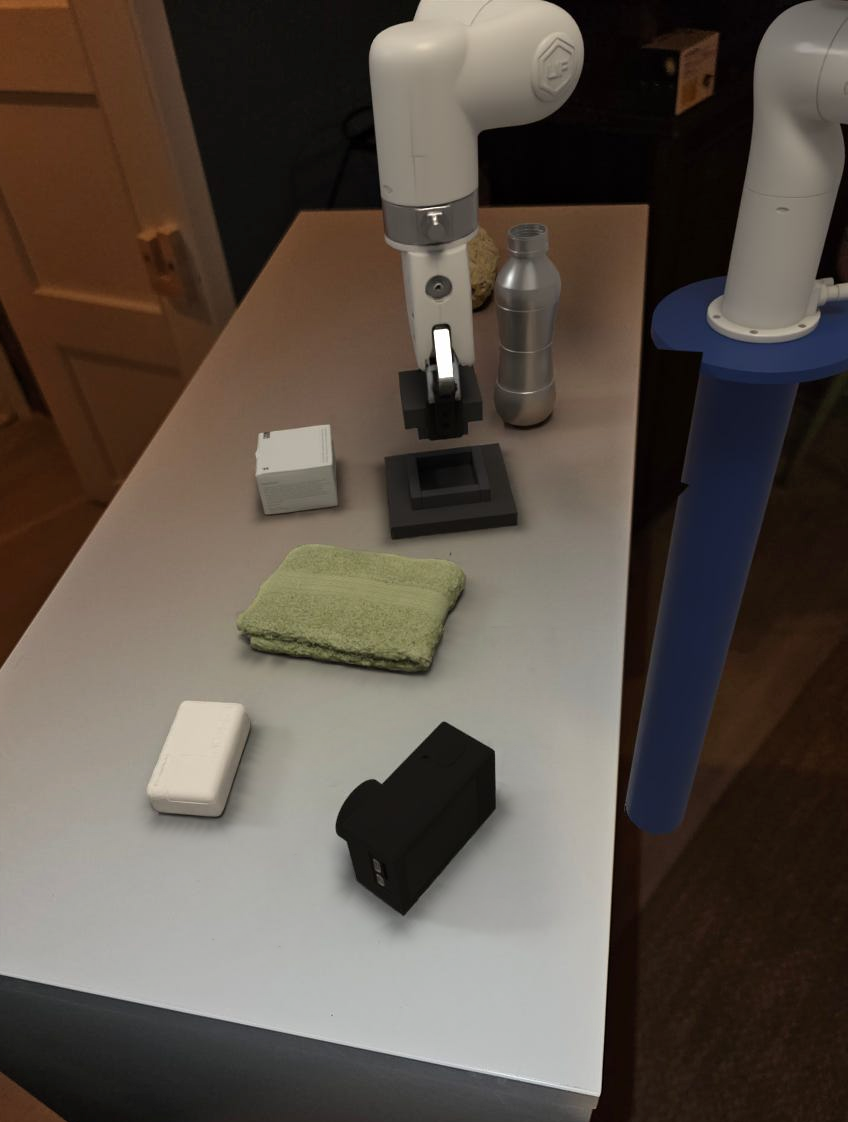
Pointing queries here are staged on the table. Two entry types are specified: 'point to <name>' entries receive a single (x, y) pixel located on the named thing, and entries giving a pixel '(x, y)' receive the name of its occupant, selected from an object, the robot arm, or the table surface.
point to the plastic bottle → (526, 327)
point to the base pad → (449, 491)
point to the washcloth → (354, 607)
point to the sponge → (482, 266)
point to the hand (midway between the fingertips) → (441, 413)
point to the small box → (296, 469)
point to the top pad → (416, 393)
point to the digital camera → (418, 815)
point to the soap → (199, 758)
